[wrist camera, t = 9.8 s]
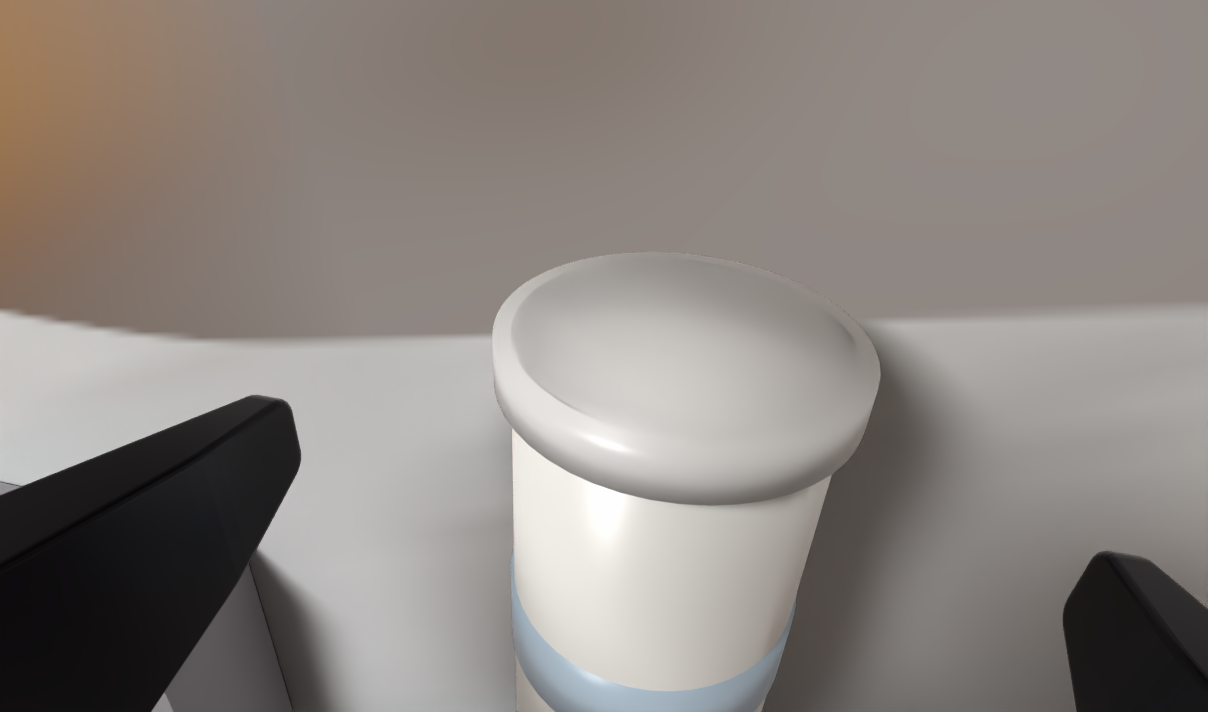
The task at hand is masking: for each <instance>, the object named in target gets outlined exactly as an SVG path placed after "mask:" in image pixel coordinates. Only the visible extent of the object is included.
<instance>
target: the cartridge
mask: <svg viewBox="0 0 1208 712" xmlns="http://www.w3.org/2000/svg"><path fill="white" fill-rule="evenodd" d="M493 369H494V388H495V393H496V397H497V401H498V404H499V406H500V408H501V410H502V412H503V415H504V416H505V418H506V419H507V421H508V422H509V424H510V425H511V426H512V453H513V518H514V548H513V552H512V558H511V610H512V636H513V642H514V648H515V651H516V711H517V712H762V708H763V705H764V702H765V698H766V695H767V694H768V692H769V691H770V688H771V686H772V684H773V682H774V679H775V677H776V674H777V671H778V668H779V664H780V661H781V658H782V654H783V651H784V648H785V644H786V641H787V638H788V635H789V631H790V628H791V625H792V621H793V617H794V613H795V609H796V600H797V591H798V587H799V584H800V581H801V577H802V574H803V571H804V567H805V564H806V560H807V557H808V554H809V550H810V547H811V544H812V540H813V537H814V533H815V530H816V527H817V523H818V520H819V517H820V513H821V510H822V507H823V503H824V500H825V496H826V493H827V490H828V486H829V483H830V480H831V476H832V474H833V473H834V472H835V471H836V470H838V469H839V468H840V467H841V466H842V465H844V464H845V463H846V462H847V461H848V460H849V458H850V457H851V456H852V455H853V453H854V452H855V451H856V450H857V448H858V446H859V444H860V442H861V440H862V438H863V436H864V433H865V430H866V427H867V423H868V420H869V417H870V414H871V411H872V408H873V404H874V401H875V398H876V395H877V392H878V388H879V383H880V378H881V373H880V362H879V359H878V356H877V352H876V349H875V348H874V346H873V344H872V342H871V340H870V339H869V337H868V335H867V334H866V333H865V332H864V330H863V329H862V328H861V327H860V325H859V324H858V323H857V322H856V321H855V320H854V319H853V318H852V317H850V316H849V315H848V314H847V313H846V312H845V311H844V310H842V309H841V308H840V307H838V306H837V305H836V304H834V303H833V302H832V301H830V300H829V299H827V298H825V297H824V296H822V295H821V294H819V293H817V292H816V291H814V290H812V289H810V288H808V287H806V286H804V285H802V284H800V283H798V282H795V281H793V280H791V279H788V278H786V277H784V276H781V275H778V274H775V273H772V272H770V271H767V270H764V269H761V268H758V267H754V266H750V265H747V264H744V263H739V262H735V261H730V260H726V259H721V258H715V257H709V256H703V255H695V254H686V253H671V252H632V253H618V254H611V255H602V256H597V257H592V258H586V259H582V260H578V261H574V262H571V263H567V264H564V265H562V266H559V267H556V268H553V269H550V270H548V271H546V272H544V273H542V274H540V275H538V276H536V277H534V278H532V279H531V280H529V281H528V282H526V283H524V284H523V285H522V286H520V287H519V288H518V289H517V290H516V291H514V292H513V293H512V294H511V295H510V296H509V298H508V299H507V300H506V301H505V302H504V303H503V305H502V307H501V308H500V310H499V312H498V314H497V316H496V319H495V323H494V326H493Z"/></svg>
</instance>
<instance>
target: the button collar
mask: <svg viewBox="0 0 1208 712" xmlns="http://www.w3.org/2000/svg"><path fill="white" fill-rule="evenodd" d="M19 487H20V486H15V485H11V484H6V483H1V482H0V495H2V494H4V493H7V492H9V491H12V490H14V489H17V488H19ZM152 712H293V710H292V706H291V703H290V700H289V696H288V693H287V690H286V686H285V683H284V680H283V676H282V673H281V670H280V666H279V663H278V660H277V656H276V653H275V650H274V646H273V643H272V640H271V636H270V633H269V630H268V626H267V623H266V620H265V616H264V613H263V610H262V606H261V603H260V600H259V596H258V593H257V590H256V587H255V583H254V580H253V577H252V573H251V570H250V567H249V564H248V566H247V568H246V569H245V571H244V573H243V575H242V576H241V578H240V580H239V581H238V583H237V585H236V586H235V588H234V589H233V591H232V592H231V594H230V596H229V597H228V599H227V600H226V602H225V603H224V605H223V606H222V608H221V609H220V611H219V612H218V614H217V615H216V617H215V618H214V619H213V621H212V622H211V624H210V625H209V627H208V628H207V630H206V631H205V633H204V634H203V636H202V637H201V639H200V640H199V642H198V643H197V645H196V646H195V648H194V649H193V651H192V652H191V654H190V655H189V657H188V658H187V660H186V661H185V663H184V664H183V666H182V667H181V668H180V670H179V671H178V673H177V674H176V676H175V677H174V679H173V680H172V682H171V683H170V685H169V686H168V688H167V689H166V691H165V692H164V694H163V695H162V697H161V698H160V700H159V701H158V703H157V704H156V706H155V707H154V709H153V710H152Z"/></svg>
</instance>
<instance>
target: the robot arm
mask: <svg viewBox="0 0 1208 712" xmlns="http://www.w3.org/2000/svg"><path fill="white" fill-rule="evenodd" d="M300 462H301V450H300V445H299V441H298V436H297V431H296V427H295V422H294V418H293V413H292V409H291V407H290V406H289V404H288V403H287V402H286V401H284V400H282V399H277V398H272V397H267V396H261V395H251V396H248V397H245V398H243V399H240V400H238V401H235V402H233V403H230V404H228V405H225V406H223V407H220V408H218V409H215V410H213V411H210V412H208V413H205V414H203V415H200V416H198V417H195V418H193V419H190V420H188V421H185V422H182V423H180V424H177V425H175V426H172V427H170V428H167V429H165V430H162V431H160V432H157V433H155V434H152V435H150V436H147V437H145V438H142V439H140V440H137V441H135V442H132V443H130V444H127V445H125V446H122V447H120V448H117V449H115V450H112V451H110V452H107V453H105V454H102V455H100V456H97V457H95V458H92V459H90V460H87V461H85V462H82V463H79V464H77V465H74V466H72V467H69V468H67V469H64V470H62V471H59V472H57V473H54V474H52V475H49V476H47V477H44V478H42V479H39V480H37V481H34V482H32V483H29V484H27V485H24V486H22V487H19V488H17V489H14V490H12V491H9V492H7V493H4V494H2V495H0V712H152V710H153V709H154V707H155V706H156V704H157V703H158V701H159V700H160V698H161V697H162V695H163V694H164V692H165V691H166V689H167V688H168V686H169V685H170V683H171V682H172V680H173V679H174V677H175V676H176V674H177V673H178V671H179V670H180V668H181V667H182V666H183V664H184V663H185V661H186V660H187V658H188V657H189V655H190V654H191V652H192V651H193V649H194V648H195V646H196V645H197V643H198V642H199V640H200V639H201V637H202V636H203V634H204V633H205V631H206V630H207V628H208V627H209V625H210V624H211V622H212V621H213V619H214V618H215V617H216V615H217V614H218V612H219V611H220V609H221V608H222V606H223V605H224V603H225V602H226V600H227V599H228V597H229V596H230V594H231V592H232V591H233V589H234V588H235V586H236V585H237V583H238V581H239V580H240V578H241V576H242V575H243V573H244V571H245V569H246V568H247V566H248V564H249V563H250V561H251V559H252V557H253V555H254V553H255V551H256V549H257V548H258V546H259V544H260V542H261V540H262V538H263V536H264V534H265V533H266V531H267V529H268V527H269V525H270V523H271V521H272V519H273V518H274V516H275V514H276V512H277V510H278V508H279V506H280V504H281V503H282V501H283V499H284V497H285V495H286V493H287V491H288V489H289V488H290V486H291V484H292V482H293V480H294V478H295V476H296V474H297V472H298V470H299V466H300ZM1063 629H1064V635H1065V642H1066V648H1067V654H1068V660H1069V667H1070V673H1071V679H1072V686H1073V692H1074V698H1075V705H1076V711H1077V712H1208V609H1207V608H1206V607H1205V606H1204V605H1203V604H1201V603H1200V602H1199V601H1198V600H1197V599H1195V598H1194V597H1193V596H1192V595H1191V594H1189V593H1188V592H1187V591H1186V590H1185V589H1183V588H1182V587H1181V586H1180V585H1179V584H1178V583H1176V582H1175V581H1174V580H1173V579H1172V578H1170V577H1169V576H1168V575H1167V574H1166V573H1164V572H1163V571H1162V570H1161V569H1160V568H1158V567H1157V566H1156V565H1155V564H1153V563H1152V562H1151V561H1149V560H1147V559H1145V558H1142V557H1139V556H1133V555H1128V554H1123V553H1117V552H1112V551H1102V552H1099V553H1098V554H1096V555H1095V556H1094V557H1093V558H1092V559H1091V561H1090V562H1089V564H1088V566H1087V567H1086V569H1085V571H1084V572H1083V574H1082V576H1081V577H1080V579H1079V581H1078V582H1077V584H1076V586H1075V587H1074V589H1073V591H1072V592H1071V594H1070V596H1069V597H1068V599H1067V601H1066V604H1065V607H1064V611H1063Z"/></svg>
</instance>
